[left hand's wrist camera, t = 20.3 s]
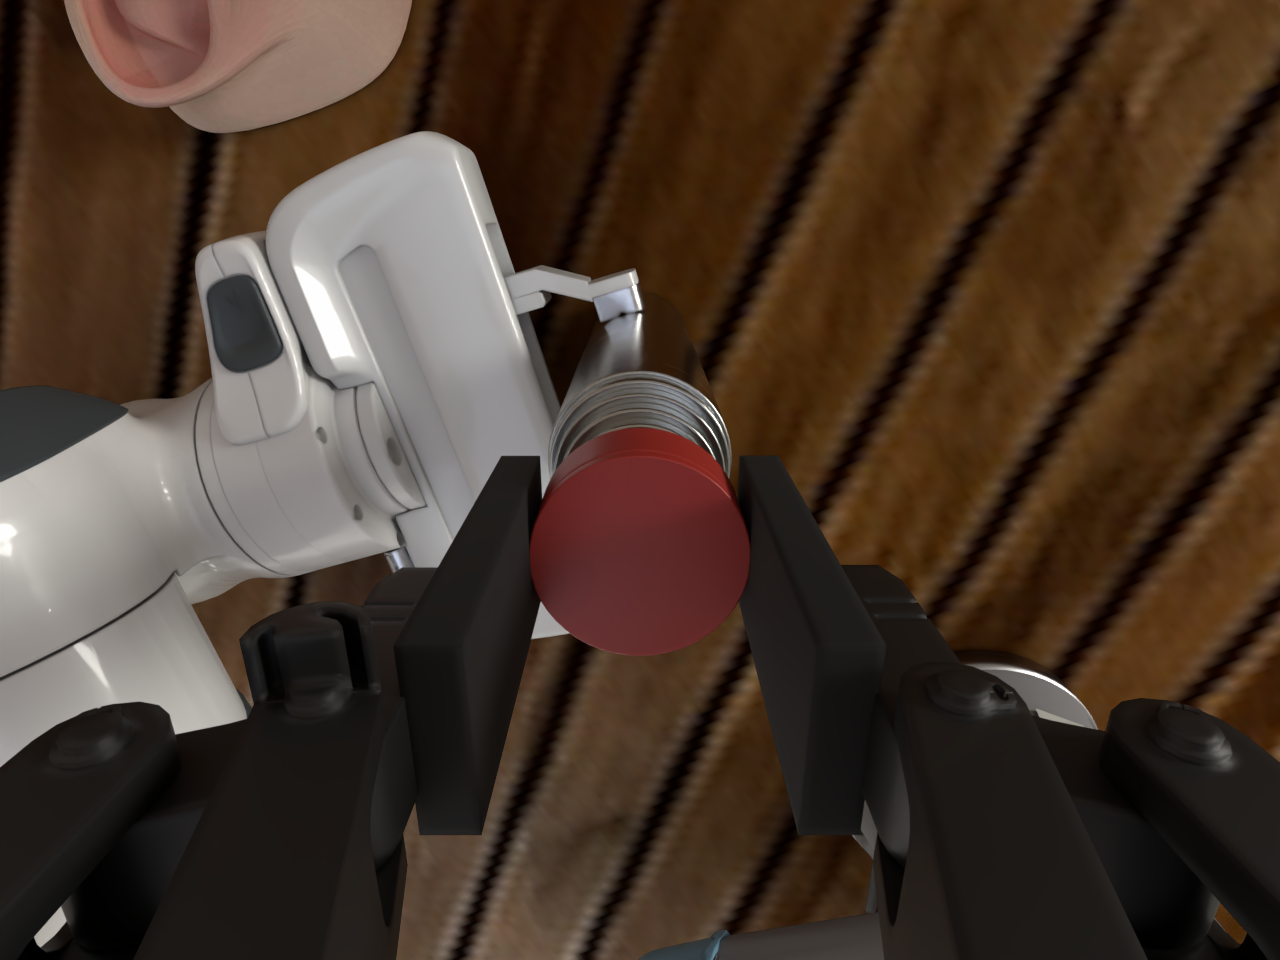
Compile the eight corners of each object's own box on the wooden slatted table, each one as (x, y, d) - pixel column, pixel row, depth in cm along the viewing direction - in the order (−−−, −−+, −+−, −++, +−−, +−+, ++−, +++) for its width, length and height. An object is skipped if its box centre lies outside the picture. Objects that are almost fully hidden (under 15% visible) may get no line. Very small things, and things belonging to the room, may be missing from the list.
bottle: (587, 379, 35) (507, 636, 14) (598, 285, 34) (526, 410, 12) (679, 392, 35) (738, 664, 14) (693, 298, 34) (786, 445, 12)
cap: (618, 385, 13) (615, 409, 12) (779, 503, 14) (797, 541, 12) (502, 539, 14) (485, 581, 13) (658, 639, 15) (660, 691, 14)
